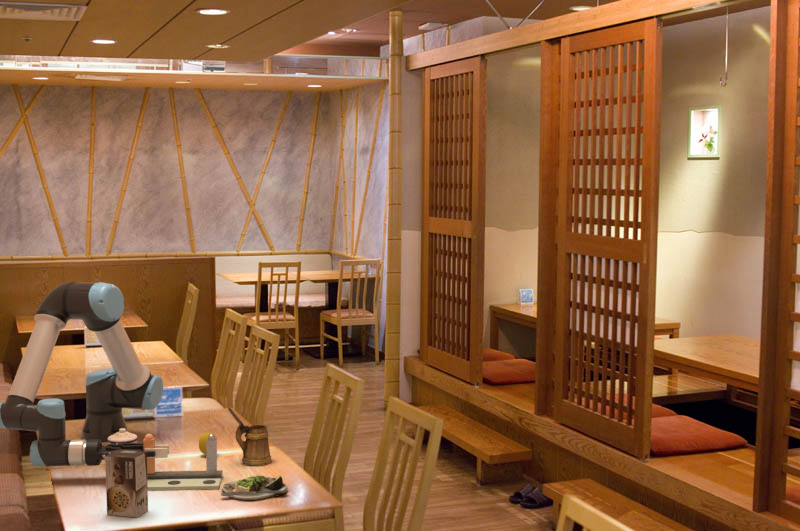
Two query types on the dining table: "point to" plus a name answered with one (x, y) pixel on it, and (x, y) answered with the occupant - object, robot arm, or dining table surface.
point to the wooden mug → (253, 443)
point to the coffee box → (126, 483)
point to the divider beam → (208, 474)
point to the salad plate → (254, 488)
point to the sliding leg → (149, 443)
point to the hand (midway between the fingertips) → (168, 451)
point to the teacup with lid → (122, 437)
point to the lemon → (203, 442)
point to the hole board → (183, 484)
